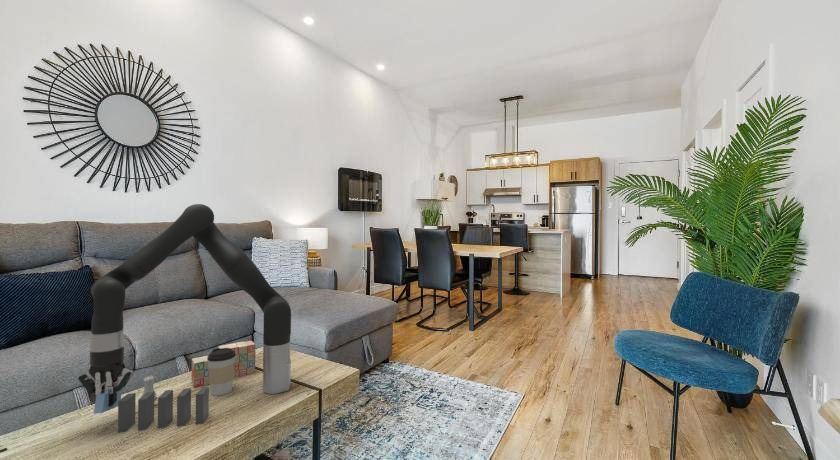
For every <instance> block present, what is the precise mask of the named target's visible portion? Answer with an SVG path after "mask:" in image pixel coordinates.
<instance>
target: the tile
mask: <svg viewBox="0 0 840 460" xmlns="http://www.w3.org/2000/svg"><path fill="white" fill-rule="evenodd" d="M122 393H123V389H121V390H120V391H117V401H116V402H115V403H114V405H112V406H111V407H109V393H108V390H107V391H106V390H105V392H103V393H100V394H97V395H96V394H95V400H94V401H95V403H94V408H93V415H94V414H95V415H96V414H103V413H105V412H108V411H110V410H113V409H115V408H118V401H120V400H121V399H122Z"/></svg>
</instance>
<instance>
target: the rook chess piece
mask: <svg viewBox="0 0 840 460" xmlns="http://www.w3.org/2000/svg"><path fill="white" fill-rule="evenodd" d="M154 381H155V377H154V375H147V376H144V379H143V380H142V382H143V383H144V384H143V386H144V389H143V393H142V395H141V397H142V396H143V395H144V394H145V393H146V392H153V391H154V401H156V399H158V397H157V393H156V391H155V388H154V383H155V382H154ZM141 397H140V398H141Z"/></svg>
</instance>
